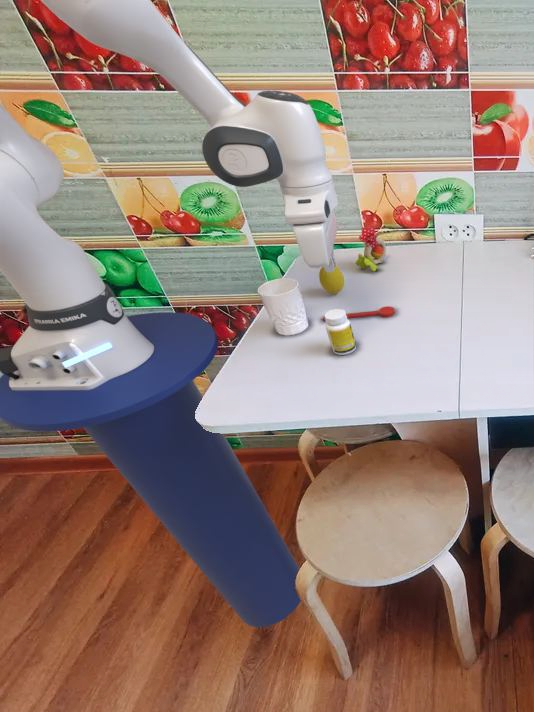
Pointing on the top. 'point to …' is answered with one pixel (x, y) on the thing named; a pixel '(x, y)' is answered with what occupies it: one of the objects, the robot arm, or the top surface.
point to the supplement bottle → (339, 332)
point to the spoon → (373, 313)
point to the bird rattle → (371, 249)
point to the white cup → (284, 305)
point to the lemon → (331, 280)
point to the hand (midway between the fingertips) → (331, 269)
